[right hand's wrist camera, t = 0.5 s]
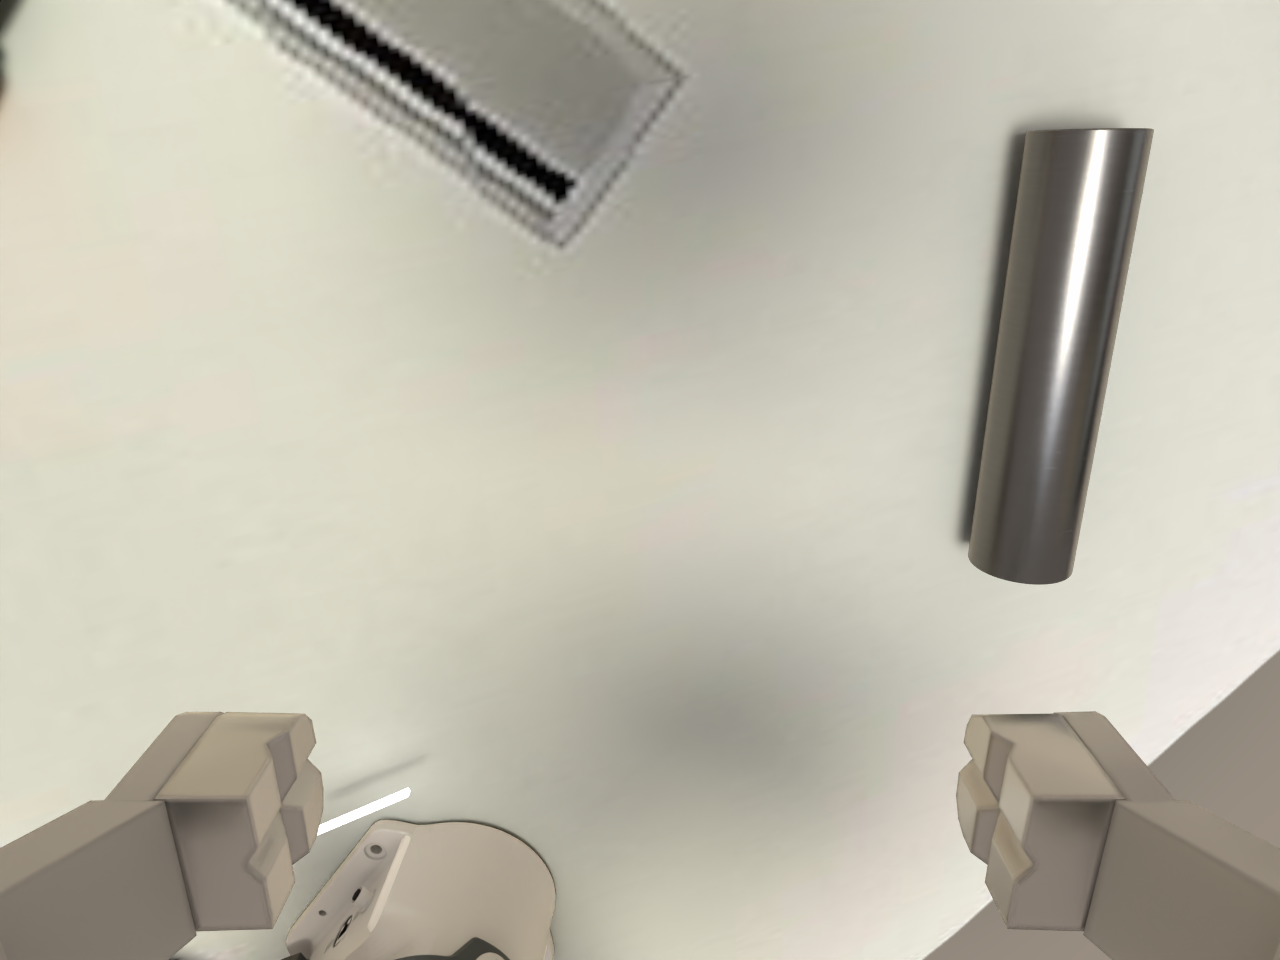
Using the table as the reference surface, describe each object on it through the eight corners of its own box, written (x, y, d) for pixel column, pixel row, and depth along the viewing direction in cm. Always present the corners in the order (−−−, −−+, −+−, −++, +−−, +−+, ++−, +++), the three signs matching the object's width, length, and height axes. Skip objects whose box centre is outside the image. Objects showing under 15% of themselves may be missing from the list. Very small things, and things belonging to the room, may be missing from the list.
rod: (1007, 132, 48) (1057, 128, 43) (1115, 131, 48) (1179, 127, 43) (954, 543, 57) (989, 585, 52) (1045, 542, 57) (1090, 584, 52)
